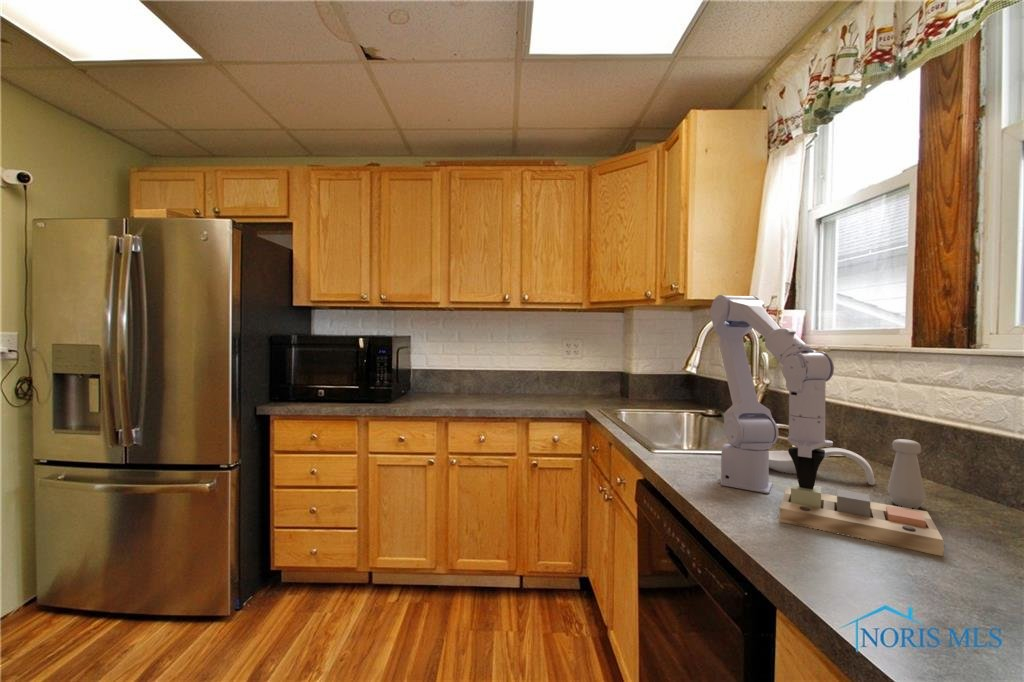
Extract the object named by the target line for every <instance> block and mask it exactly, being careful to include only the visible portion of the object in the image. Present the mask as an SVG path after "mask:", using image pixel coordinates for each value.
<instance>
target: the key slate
mask: <svg viewBox="0 0 1024 682" xmlns="http://www.w3.org/2000/svg"><path fill="white" fill-rule="evenodd" d="M836 496H837V511H838V512H843V513H849V514H854V515H859V516H865V517H870V502H871V498H870V495H869V493H861V492H857V491H856V492H855V491H850V490H845V489H839V488H837V489H836Z"/></svg>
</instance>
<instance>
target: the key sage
mask: <svg viewBox="0 0 1024 682" xmlns="http://www.w3.org/2000/svg"><path fill="white" fill-rule="evenodd" d="M790 488H791V503H795V504H801V505H806V506H811V507H817V508H821V493H822V486H819V485H814V488H813V489H806V488H800V486H799V483H798V482H794V481H792V483H791V486H790Z"/></svg>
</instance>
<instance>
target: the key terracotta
mask: <svg viewBox="0 0 1024 682" xmlns="http://www.w3.org/2000/svg"><path fill="white" fill-rule="evenodd" d="M886 521H891V522H897V523H902V524H907V525H913V526H918V527H923V528H926V521H925V519H924V517H923V515H922V513H921V512H917V511H912V510H906V509H900V508H894V507H888V506H886Z"/></svg>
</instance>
